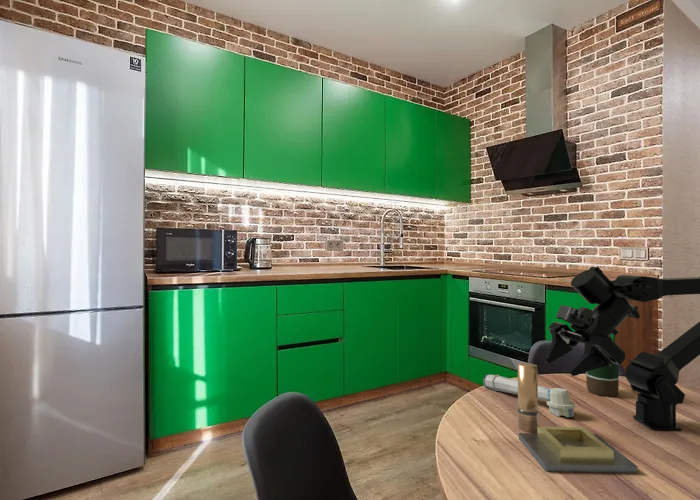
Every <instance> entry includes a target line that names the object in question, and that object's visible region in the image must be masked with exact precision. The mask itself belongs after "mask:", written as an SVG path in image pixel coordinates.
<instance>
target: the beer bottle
mask: <svg viewBox="0 0 700 500" xmlns="http://www.w3.org/2000/svg"><path fill="white" fill-rule="evenodd" d="M596 306H597V305H596ZM596 306H594V308H595V307H596ZM594 308H593V309H594ZM608 337H610V338H611V339H612V340H613V341H614V339H613V338H612V335H611V334H610V335H609V336H608ZM585 374H586V375H585V379H586V380H585V381H586V389H587V391H588V393H591V394H593V395H595V394H596V395H595V396H598V397H605V398H614V397H618V396H619V389H620V388H619V385H620V384H619V381H620V380H619V365H617V364H614V363H613V365H612V366H610V365H609V366H605V367H601V368H598V369H594V370H591V371H588V372H585Z"/></svg>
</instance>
